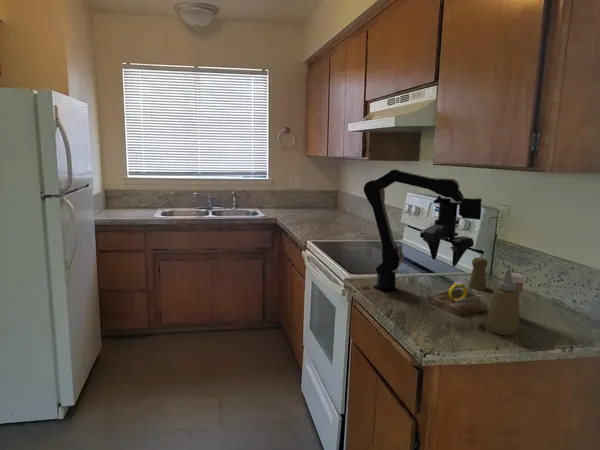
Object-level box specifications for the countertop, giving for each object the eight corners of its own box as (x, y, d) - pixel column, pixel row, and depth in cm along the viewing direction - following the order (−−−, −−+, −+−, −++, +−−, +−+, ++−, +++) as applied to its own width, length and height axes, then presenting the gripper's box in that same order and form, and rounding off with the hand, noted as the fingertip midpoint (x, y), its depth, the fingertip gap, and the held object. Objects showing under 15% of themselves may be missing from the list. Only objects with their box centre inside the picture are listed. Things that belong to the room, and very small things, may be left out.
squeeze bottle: (523, 337, 122) (531, 274, 118) (495, 338, 121) (501, 274, 118) (507, 325, 130) (514, 265, 126) (480, 326, 129) (486, 265, 126)
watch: (451, 303, 142) (452, 285, 141) (446, 300, 145) (447, 282, 144) (468, 300, 144) (468, 283, 142) (463, 297, 146) (463, 280, 145)
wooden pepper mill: (486, 290, 160) (489, 261, 158) (468, 288, 162) (471, 259, 160) (485, 285, 166) (488, 257, 164) (468, 283, 168) (470, 255, 166)
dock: (428, 302, 147) (429, 290, 147) (455, 297, 153) (456, 286, 152) (459, 316, 136) (460, 303, 135) (486, 310, 142) (487, 297, 141)
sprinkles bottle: (500, 314, 138) (504, 272, 136) (514, 314, 138) (519, 272, 136) (508, 320, 134) (513, 277, 131) (523, 320, 134) (528, 276, 132)
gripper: (409, 214, 153) (406, 258, 155) (451, 223, 136) (447, 272, 139) (433, 212, 158) (430, 255, 161) (476, 221, 141) (472, 268, 144)
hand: (443, 262), depth 151 cm, fingers open, 9 cm apart
